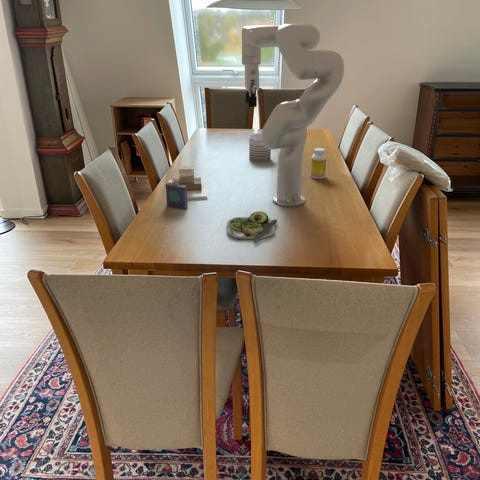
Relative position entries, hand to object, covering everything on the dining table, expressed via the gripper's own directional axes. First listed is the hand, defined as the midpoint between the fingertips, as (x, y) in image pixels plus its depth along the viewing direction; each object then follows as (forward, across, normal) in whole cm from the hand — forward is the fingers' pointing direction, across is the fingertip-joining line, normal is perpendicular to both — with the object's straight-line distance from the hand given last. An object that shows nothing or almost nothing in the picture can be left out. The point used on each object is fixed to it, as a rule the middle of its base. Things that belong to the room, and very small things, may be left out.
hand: (251, 104), depth 191 cm
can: (+34, +34, -9) cm, 49 cm away
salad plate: (+34, -50, +6) cm, 61 cm away
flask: (+34, -26, +32) cm, 53 cm away
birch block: (+29, -8, +28) cm, 41 cm away
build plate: (+33, -8, +28) cm, 44 cm away
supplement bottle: (+34, +3, -31) cm, 46 cm away
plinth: (+32, -8, +28) cm, 43 cm away
